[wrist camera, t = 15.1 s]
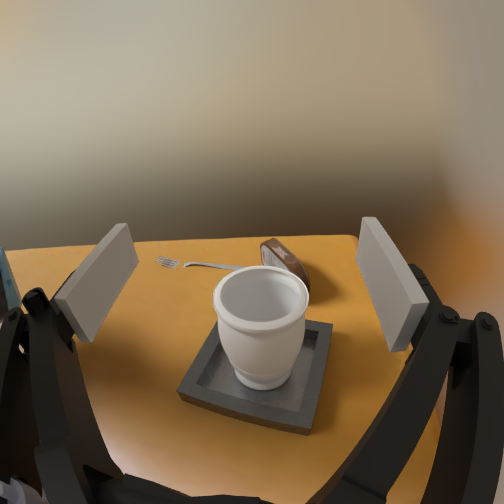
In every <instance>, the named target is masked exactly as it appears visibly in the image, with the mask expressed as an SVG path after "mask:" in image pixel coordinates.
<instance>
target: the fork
mask: <svg viewBox="0 0 504 504" xmlns="http://www.w3.org/2000/svg"><path fill="white" fill-rule="evenodd" d="M159 257H162V256H159ZM159 257H158V258H159ZM162 258H165V257H162ZM162 258H159V259H161V260H164V261H167V262H170V263H174V264H175V265H174V264H170V263H167V262H164V261H161V260H158V259H156V260H158V261H160V262H163V263H166V264H169V265H172V266H175V267H172V266H168V265H165V264H162V263H160V262H157V261H155V262H157V263H159V264H162V265H164V266H167V267H170V268H176V266H177V264H178V263H179V261H178V260H173V259H169V258H165V259H168V260H172V261H176V262H171V261H168V260H165V259H162ZM192 264H200V265H206V266H211V267H216V268H222V269H230V270H238V269H241V268H244V267H242V266H234V265H220V264H210V263H202V262H189V263H188V262H186V263H185V264H184V266H183V268H184V267H187V266H189V265H192Z"/></svg>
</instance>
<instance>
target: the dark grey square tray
mask: <svg viewBox="0 0 504 504" xmlns="http://www.w3.org/2000/svg"><path fill="white" fill-rule="evenodd" d="M332 327H333V324H330V323H323V322H317V321H311V320H305V333H304V339H303V343H302V346H301V349H300V351H299V353H298V355H297V358H296V360H295V363H294V364H293V366H292V371H291V374H290V376H289V378H288V379H287V381H286V382H285V383H284V384H282V385H281V386H279V387H277V388H275V389H271V390H255V389H252V388H249V387H247V386H245V385H244V384H243V383H241V382H240V380H239V379H238V378H237V376H236V374H235V371H234V367H233V366H232V364H231V362H230V361H229V358H228V356H227V354H226V353H225V351H224V349H223V346H222V343H221V340H220V336H219V331H218V320H217V322H216V324H215V326H214V327H213V329H212V331H211V332H210V334H209V336H208V338H207V339H206V341H205V343H204V344H203V346H202V348H201V349H200V351H199V353H198V355H197V356H196V358H195V360H194V361H193V363H192V365H191V367H190V368H189V370H188V372H187V373H186V375H185V377H184V378H183V380H182V382H181V384H180V385H179V387H178V389H177V390H176V391H177V392H178V394H179V396H180V397H181V399H182V400H183V401H186V402H188V403H191V404H194V405H196V406H199V407H202V408H205V409H208V410H210V411H213V412H216V413H219V414H222V415H225V416H229V417H232V418H235V419H239V420H242V421H245V422H249V423H253V424H256V425H260V426H264V427H268V428H272V429H277V430H281V431H286V432H291V433H296V434H301V435H306V436H308V435H309V432H310V430H311V427H312V423H313V419H314V415H315V411H316V407H317V403H318V399H319V394H320V390H321V385H322V381H323V376H324V371H325V366H326V361H327V356H328V350H329V345H330V339H331V333H332Z"/></svg>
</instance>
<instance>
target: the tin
mask: <svg viewBox="0 0 504 504" xmlns="http://www.w3.org/2000/svg"><path fill="white" fill-rule="evenodd" d="M260 248H261V259H262V263H263V266H272V267H277V268H281V269H284V270H287V271H289V272H291V273H293V274H294V275H296V276H297V277H298V278H300V279H301V280H302V282H303V283H304V284H305V286H306V288H307V290H308V294H309V293H310V281H309V277H308V274H307V272H306V269H305V268H304V266H303V264H302V263H301V261H300V260H299V259H298V258H297V257H296V256H295V255H294V254H293V253H291V252H290V251H289V250H288V249H287V248H286V247H285V246H284V245H283V244H282V243H281V242H280V241H278V240H277V239H276V238H272V239H270V240H267V241H265V242H263V243H261V245H260Z"/></svg>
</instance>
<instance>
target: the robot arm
mask: <svg viewBox="0 0 504 504" xmlns="http://www.w3.org/2000/svg"><path fill="white" fill-rule="evenodd" d="M356 262H357V264H358V267H359V269H360V272H361V274H362V277H363V279H364V281H365V284H366V287H367V289H368V292H369V294H370V297H371V300H372V302H373V305H374V308H375V310H376V313H377V316H378V319H379V321H380V324H381V327H382V330H383V333H384V336H385V339H386V342H387V345H388V348H389V351H390V352H397V351H404V350H406V348H407V347H408V345H409V343H410V341H411V344H412V346H413V350H412V352H411V353H410V355H409V357H408V359H407V360H406V362H405V363H404V364H405V366H404V368H403V370H402V372H401V374H400V376H399V378H398V380H397V381H396V383H395V385H394V387H393V389H392V391H391V392H390V394H389V396H388V398H387V399H386V401H385V403H384V404H383V406H382V408H381V409H380V411H379V413H378V414H377V416H376V417H375V419H374V420H373V422H372V423H371V425H370V427H369V428H368V429H367V431H366V432H365V434H364V435H363V437H362V438H361V440H360V441H359V442H358V444H357V445H356V447H355V448H354V449H353V451H352V452H351V453H350V455H349V456H348V457H347V458H346V460H345V461H344V462H343V464H342V465H341V466H340V467H339V468H338V470H337V471H336V472H335V473H334V474H333V476H332V477H331V478H330V479H329V480H328V481H327V483H326V484H325V485H324V486H323V487H322V488H321V489H320V490H319V491H318V492H316V493H315V494H314V495H313V496H312V497H311V498H310V499H309V500H308V502H307V503H306V504H385V503H386V496H387V494H388V492H389V490H390V488H391V487H392V485H393V484H394V482H395V481H396V479H397V478H398V476H399V475H400V473H401V471H402V470H403V468H404V466H405V465H406V463H407V461H408V460H409V458H410V456H411V454H412V452H413V451H414V449H415V447H416V445H417V443H418V441H419V439H420V437H421V435H422V433H423V431H424V429H425V427H426V425H427V423H428V420H429V418H430V416H431V414H432V411H433V409H434V406H435V404H436V402H437V399H438V397H439V394H440V391H441V389H442V386H443V383H444V380H445V377H446V374H447V371H448V382H447V393H446V401H445V409H444V415H443V421H442V427H441V432H440V437H439V442H438V447H437V451H436V455H435V459H434V463H433V467H432V470H431V474H430V477H429V480H428V483H427V486H426V489H425V492H424V495H423V498H422V501H421V503H420V504H493V501H494V497H495V493H496V489H497V484H498V480H499V475H500V469H501V463H502V456H503V448H504V358H503V350H502V342H501V336H500V330H499V325H498V323H497V321H496V319H495V318H494V317H493V316H492V315H491V314H489V313H486V312H479V313H478V314H477V315H476V317H475V318H474V320H468V319H461V318H460V316H459V314H458V313H457V312H456V311H455V310H454V309H452V308H451V307H448V306H445V305H443V304H442V303H441V301H440V299H439V297H438V296H437V294H436V292H435V291H434V289H433V287H432V286H431V285H430V282H429V281H428V279H426V276H425V274H424V273H423V271H422V270H421V269H419V268H418V267H417V266H416V265H415V264H407V263H406V262H405V260H404V259H403V257H402V255H401V254H400V253H399V251H398V249H397V248H396V246H395V245H394V243H393V242H392V240H391V239H390V237H389V236H388V234H387V233H386V231H385V230H384V229H383V227H382V226H381V224H380V223H379V221H378V220H377V219H376V217H363V218H362V224H361V232H360V238H359V243H358V249H357V255H356ZM138 263H139V261H138V258H137V254H136V251H135V248H134V245H133V242H132V238H131V235H130V231H129V228H128V224H127V223H123V224H116V225H115V226H114V227H113V228H112V230H111V231H110V232H109V233H108V234H107V235H106V236H105V237H104V238H103V239H102V240H101V241H100V243H99V244H98V245H97V246H96V247H95V248H94V249H93V250H92V252H91V253H90V254H89V255H88V256H87V257H86V259H85V260H84V261H83V262H82V263H81V264H80V266H79V267H78V268H77V269H76V270H75V271H73V272H72V273H71V274H70V275H69V277H68V278H67V279H66V281H65V282H64V283H63V284H62V286H61V287H60V288H59V289H58V291H57V292H56V293H55V295H54V296H53V297H52V299H51V300H50V301H49V300H48V298H47V297H46V295H45V293H44V291H43V289H42V288H40V287H39V288H34V289H32V290H30V291H29V292H28V293H26V294H25V296H24V297H23V299H22V300H21V296H20V293H19V290H18V287H17V285H16V282H15V279H14V276H13V273H12V271H11V268H10V265H9V262H8V260H7V257H6V254H5V252H4V250H3V248H2V247H1V246H0V323H2V322H3V323H2V326H1V329H0V504H274V503H271V502H268V501H264V500H261V499H260V498H259V497H246V496H233V495H213V496H198V497H191V496H188V495H186V494H184V493H181V492H179V491H176V490H174V489H171V488H168V487H166V486H163V485H160V484H158V483H155V482H153V481H149V480H145V479H142V478H139V477H135V476H132V475H129V474H126V473H125V475H124V474H123V473H122V471H121V470H120V468H119V467H118V466H117V465H116V464H115V463H114V462H113V460H112V459H111V457H110V455H109V453H108V450H107V448H106V446H105V443H104V441H103V438H102V436H101V433H100V430H99V428H98V425H97V422H96V419H95V416H94V413H93V410H92V407H91V404H90V401H89V398H88V394H87V391H86V388H85V384H84V380H83V376H82V372H81V368H80V364H79V360H78V355H77V350H76V346H75V342H74V340H73V338H72V336H73V335H74V333H75V334H76V335H77V337H78V338H79V340H80V341H83V342H88V343H92V341H93V340H94V338H95V336H96V334H97V332H98V330H99V328H100V327H101V325H102V323H103V321H104V319H105V318H106V316H107V314H108V312H109V311H110V309H111V307H112V305H113V304H114V302H115V300H116V299H117V297H118V295H119V294H120V292H121V290H122V289H123V287H124V285H125V284H126V282H127V280H128V279H129V277H130V276H131V274H132V272H133V271H134V269H135V268H136V266H137V265H138ZM22 303H23V305H24V306H25V308H26V310H27V311H28V314H24V312H23V311H22V309H21V305H22ZM19 344H20V345H21V346H22V348H23V349H24V353H21V351H20V350H19ZM42 486H43V488H44V491H45V494H46V497H47V500H48V502H47V501H46V500H44V499H42Z"/></svg>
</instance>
